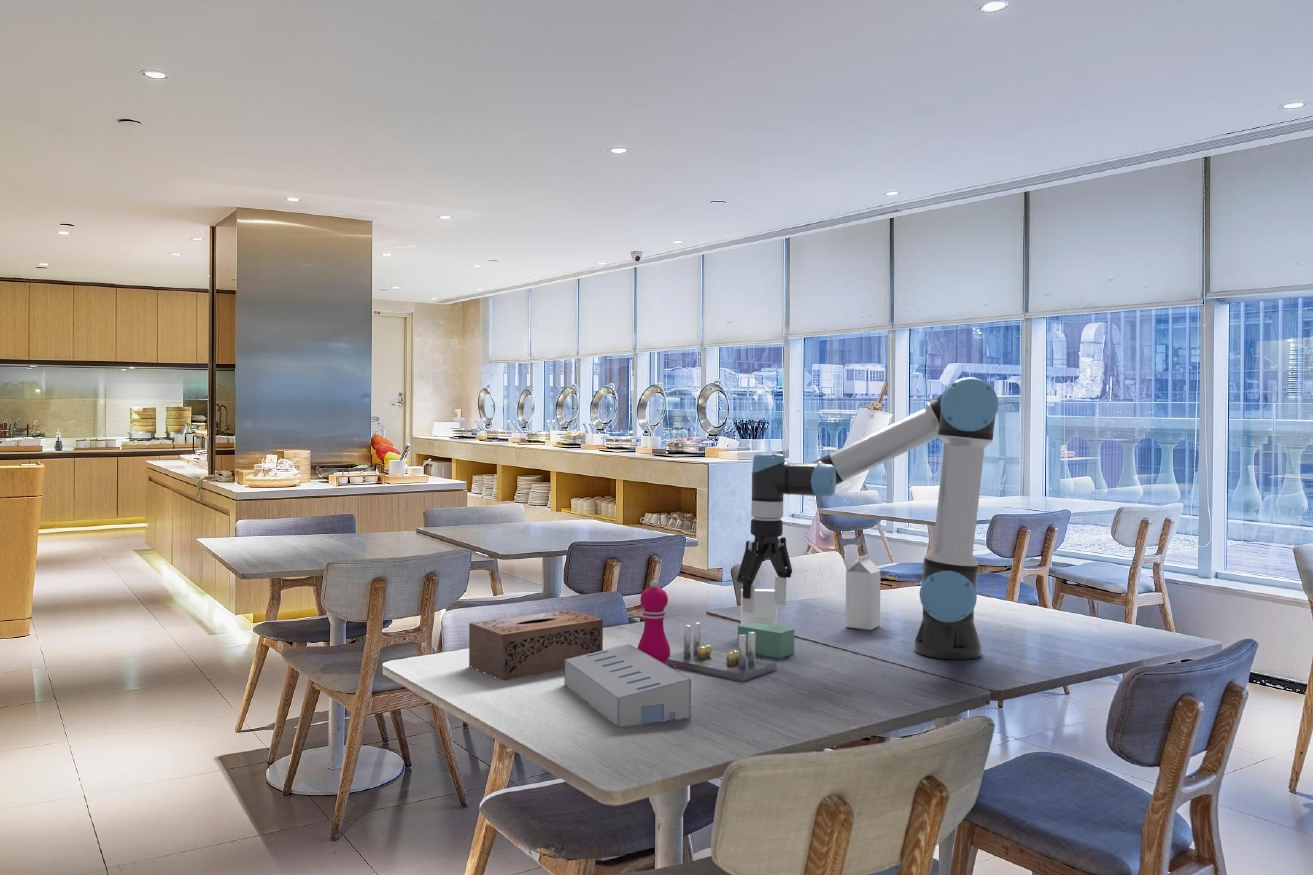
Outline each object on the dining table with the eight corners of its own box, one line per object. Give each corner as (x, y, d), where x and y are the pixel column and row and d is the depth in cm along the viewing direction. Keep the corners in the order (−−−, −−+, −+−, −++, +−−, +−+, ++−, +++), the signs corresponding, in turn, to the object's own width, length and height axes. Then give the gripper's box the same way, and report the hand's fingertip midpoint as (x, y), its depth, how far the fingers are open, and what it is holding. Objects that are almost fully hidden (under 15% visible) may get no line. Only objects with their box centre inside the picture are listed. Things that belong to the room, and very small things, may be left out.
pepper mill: (646, 678, 204) (646, 584, 204) (631, 670, 211) (631, 578, 211) (676, 674, 208) (676, 581, 208) (660, 666, 214) (661, 576, 214)
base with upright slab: (776, 633, 249) (776, 587, 248) (776, 641, 240) (777, 593, 239) (740, 632, 249) (741, 586, 249) (740, 640, 241) (740, 592, 240)
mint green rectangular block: (794, 654, 227) (794, 628, 227) (780, 658, 223) (780, 633, 223) (751, 646, 235) (752, 621, 235) (737, 650, 231) (737, 625, 230)
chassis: (776, 669, 212) (777, 631, 212) (743, 681, 202) (743, 641, 202) (696, 653, 226) (697, 617, 226) (661, 664, 216) (662, 626, 216)
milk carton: (880, 626, 259) (880, 555, 259) (870, 630, 253) (871, 558, 253) (854, 622, 263) (855, 553, 263) (845, 627, 257) (845, 556, 257)
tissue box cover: (567, 651, 229) (567, 609, 229) (602, 663, 218) (602, 619, 218) (469, 668, 213) (469, 622, 213) (501, 682, 202) (502, 634, 202)
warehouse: (564, 686, 199) (564, 650, 199) (629, 679, 205) (629, 643, 205) (617, 729, 172) (617, 687, 171) (690, 719, 177) (690, 678, 177)
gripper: (781, 514, 240) (779, 598, 241) (723, 520, 221) (720, 613, 222) (807, 516, 236) (805, 603, 236) (750, 523, 216) (748, 617, 217)
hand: (764, 608), depth 229 cm, fingers open, 13 cm apart
